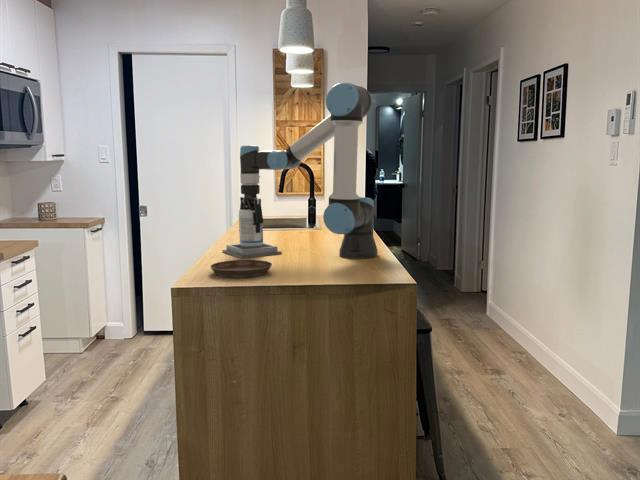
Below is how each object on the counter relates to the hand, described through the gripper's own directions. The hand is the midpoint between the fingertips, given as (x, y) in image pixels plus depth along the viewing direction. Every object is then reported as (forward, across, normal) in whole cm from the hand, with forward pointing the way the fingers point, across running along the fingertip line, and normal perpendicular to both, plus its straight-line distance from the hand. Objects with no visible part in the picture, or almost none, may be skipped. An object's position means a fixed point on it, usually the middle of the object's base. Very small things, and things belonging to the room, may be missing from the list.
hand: (251, 239), depth 230 cm
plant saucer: (+6, -34, +21) cm, 40 cm away
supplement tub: (+3, 0, 0) cm, 3 cm away
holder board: (+6, 0, 0) cm, 6 cm away
